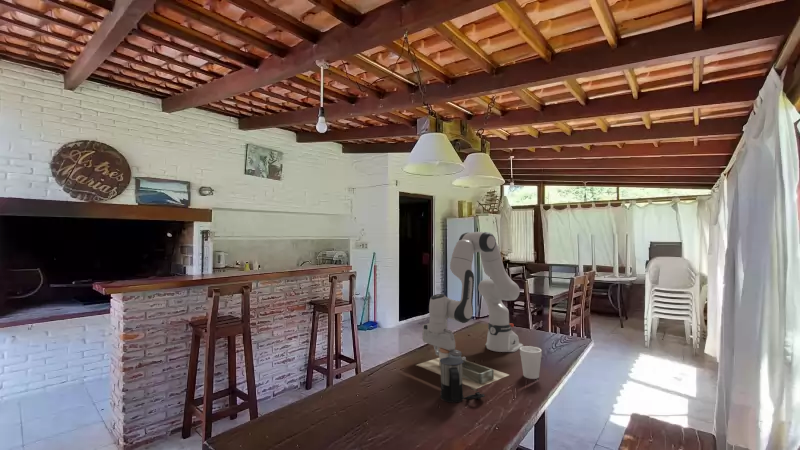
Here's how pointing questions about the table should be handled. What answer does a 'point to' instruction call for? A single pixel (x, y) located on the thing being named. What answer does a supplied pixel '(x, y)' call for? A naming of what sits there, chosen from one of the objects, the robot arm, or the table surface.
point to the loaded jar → (455, 353)
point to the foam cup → (531, 361)
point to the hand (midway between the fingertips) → (438, 355)
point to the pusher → (463, 361)
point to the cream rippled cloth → (469, 373)
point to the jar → (443, 354)
